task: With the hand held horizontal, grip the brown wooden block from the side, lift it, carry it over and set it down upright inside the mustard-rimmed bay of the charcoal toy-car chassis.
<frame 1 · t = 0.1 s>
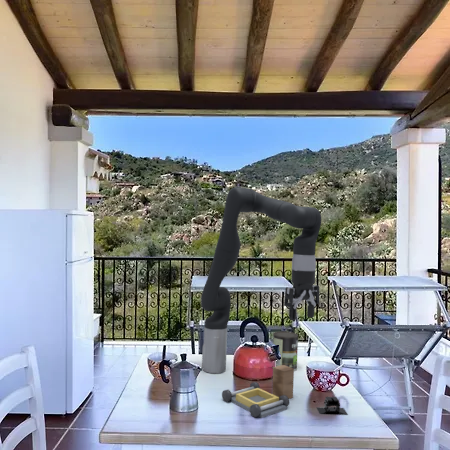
hand: (301, 318, 141), 29 cm above the table, tool pointing down, fingers open, 8 cm apart
coffee can: (284, 368, 181), on the table
brown wooden block: (282, 396, 151), on the table
chassis: (254, 403, 144), on the table
black angular machine part: (331, 413, 140), on the table
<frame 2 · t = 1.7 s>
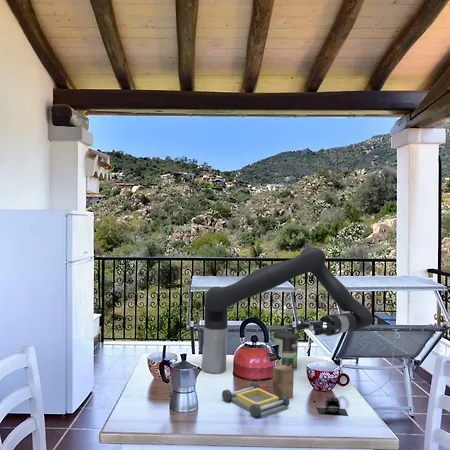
hand: (306, 329, 157), 22 cm above the table, tool horizontal, fingers open, 8 cm apart
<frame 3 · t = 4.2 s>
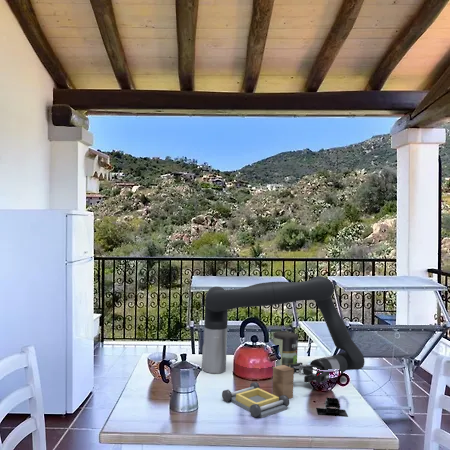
hand: (295, 375, 155), 6 cm above the table, tool horizontal, fingers open, 8 cm apart
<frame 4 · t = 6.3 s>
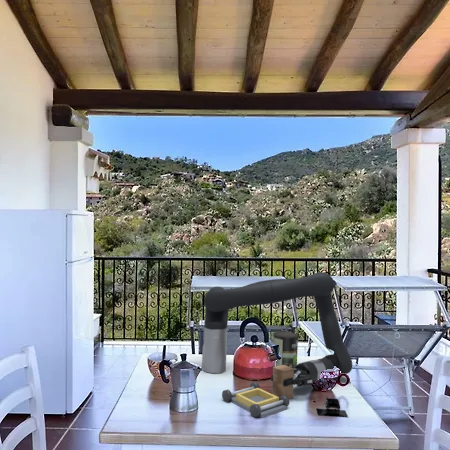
hand: (277, 380, 149), 6 cm above the table, tool horizontal, fingers closed on brown wooden block, 5 cm apart
brown wooden block: (282, 396, 151), on the table, touching gripper
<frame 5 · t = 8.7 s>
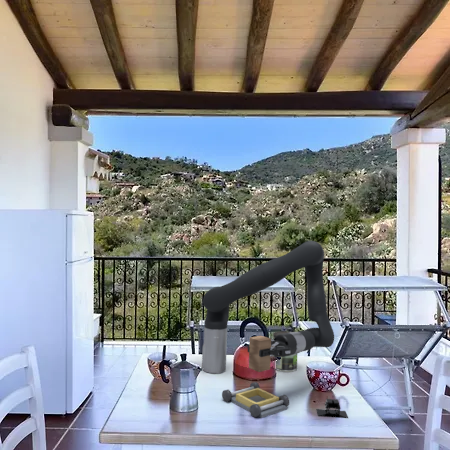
hand: (254, 351, 142), 18 cm above the table, tool horizontal, fingers closed on brown wooden block, 5 cm apart
brown wooden block: (259, 368, 143), point 12 cm above the table, touching gripper
when the fingers open (8 cm above the table, at t = 11.0 s): brown wooden block drops 1 cm, resting on chassis.
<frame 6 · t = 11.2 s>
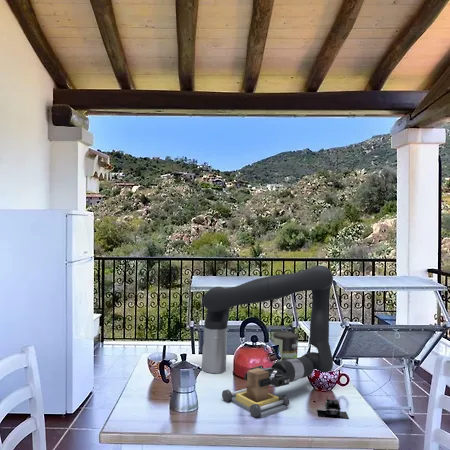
hand: (252, 380, 142), 8 cm above the table, tool horizontal, fingers open, 6 cm apart
brown wooden block: (257, 401, 143), point 1 cm above the table, touching chassis
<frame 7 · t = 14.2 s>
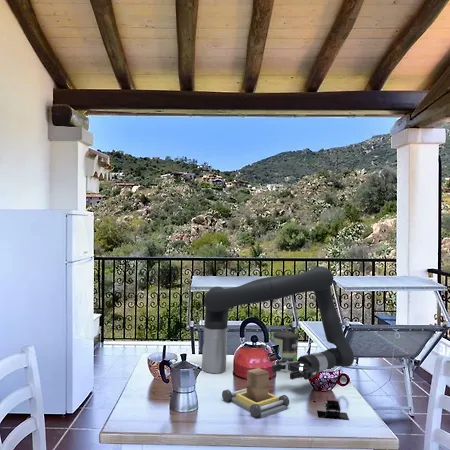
hand: (281, 372, 150), 9 cm above the table, tool horizontal, fingers open, 8 cm apart
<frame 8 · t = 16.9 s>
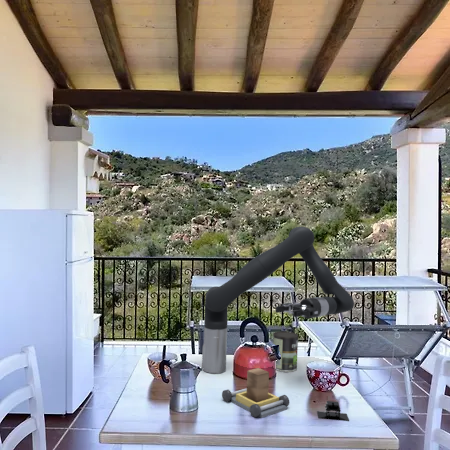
hand: (284, 311, 158), 28 cm above the table, tool horizontal, fingers open, 8 cm apart
at the end: brown wooden block 0.0 cm from the target spot on the chassis, point 1.0 cm above the chassis's base; brown wooden block tilted 0°; the gripper is holding nothing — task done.
